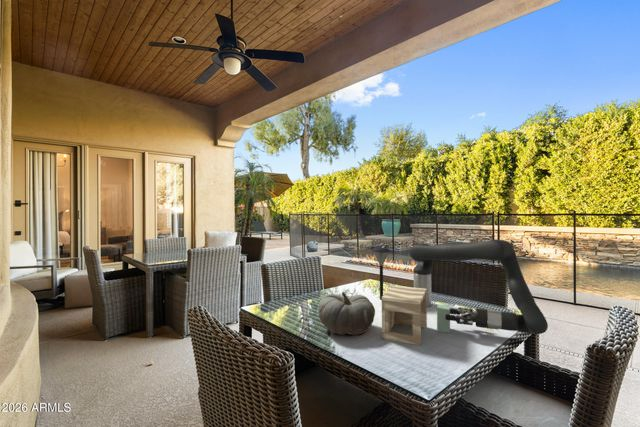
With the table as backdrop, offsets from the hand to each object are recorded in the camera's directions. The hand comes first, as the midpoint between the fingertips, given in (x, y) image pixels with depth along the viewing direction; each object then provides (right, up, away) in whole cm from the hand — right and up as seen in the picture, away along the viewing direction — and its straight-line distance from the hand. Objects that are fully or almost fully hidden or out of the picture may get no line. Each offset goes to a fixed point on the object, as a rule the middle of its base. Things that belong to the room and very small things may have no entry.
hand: (446, 313), depth 139 cm
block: (-1, -7, +1) cm, 7 cm away
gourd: (-43, -8, +3) cm, 44 cm away
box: (-18, -7, -2) cm, 19 cm away
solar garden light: (-19, -6, +47) cm, 51 cm away
